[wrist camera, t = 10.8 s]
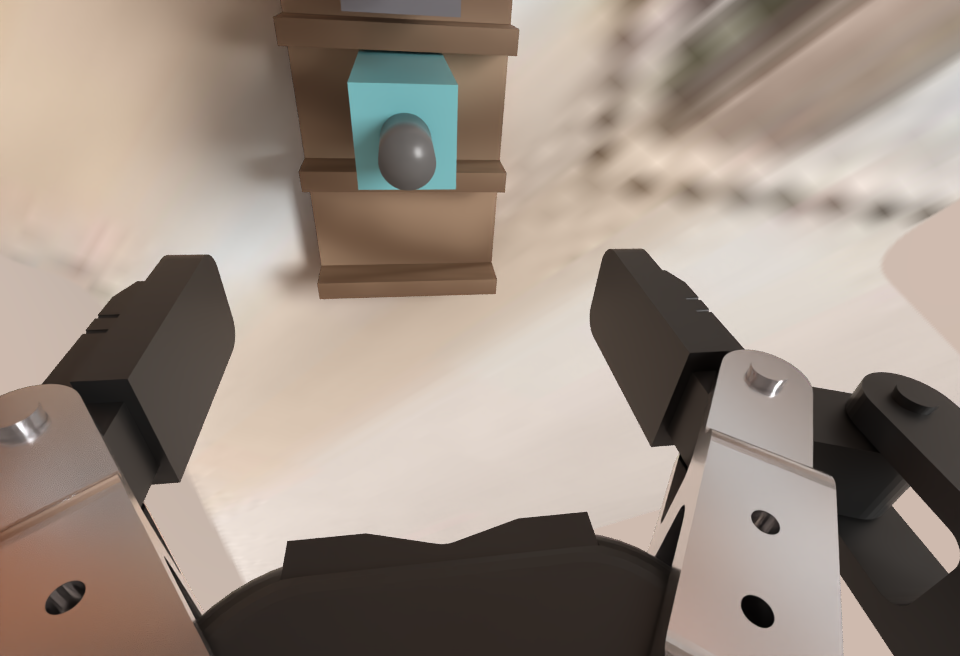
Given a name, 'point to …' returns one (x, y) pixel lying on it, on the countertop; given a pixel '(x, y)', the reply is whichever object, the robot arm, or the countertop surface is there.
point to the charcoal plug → (405, 7)
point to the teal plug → (403, 120)
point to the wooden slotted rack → (400, 213)
